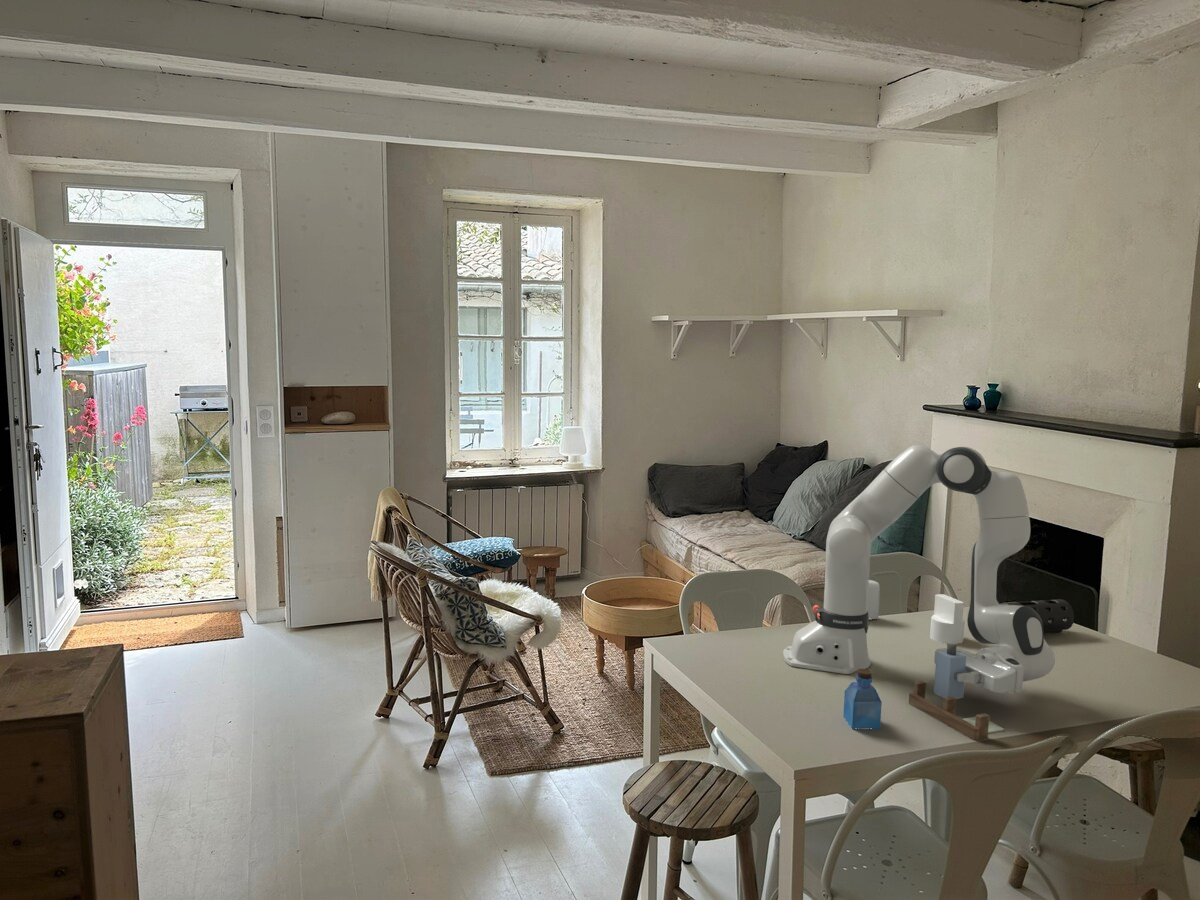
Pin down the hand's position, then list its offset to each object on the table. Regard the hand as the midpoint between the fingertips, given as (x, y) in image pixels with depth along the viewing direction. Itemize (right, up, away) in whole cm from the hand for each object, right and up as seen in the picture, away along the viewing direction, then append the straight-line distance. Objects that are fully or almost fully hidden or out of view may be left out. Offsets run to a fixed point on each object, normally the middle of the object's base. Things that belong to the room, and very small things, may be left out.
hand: (946, 672), depth 204 cm
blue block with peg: (+1, -5, +1) cm, 6 cm away
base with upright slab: (+20, -3, +51) cm, 55 cm away
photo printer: (0, -1, +68) cm, 68 cm away
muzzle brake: (+44, -3, +56) cm, 72 cm away
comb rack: (+1, -9, -4) cm, 10 cm away
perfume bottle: (-22, -9, -8) cm, 25 cm away
